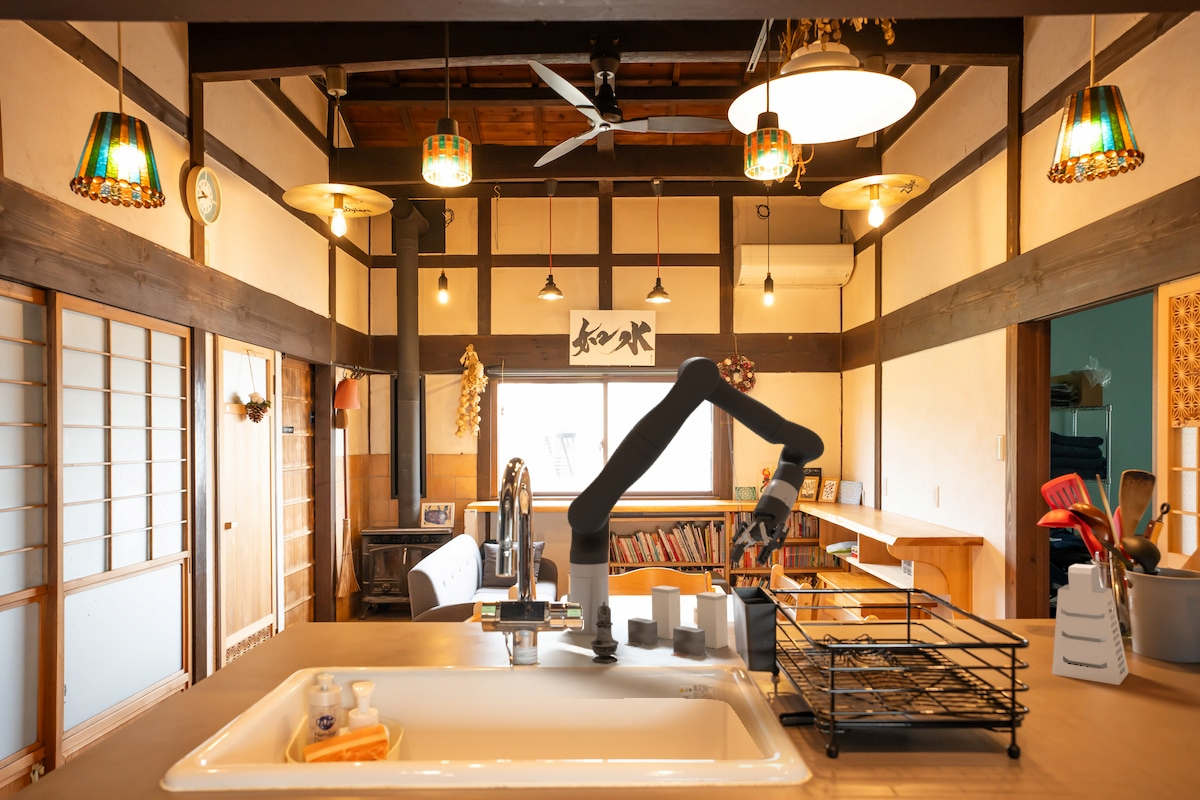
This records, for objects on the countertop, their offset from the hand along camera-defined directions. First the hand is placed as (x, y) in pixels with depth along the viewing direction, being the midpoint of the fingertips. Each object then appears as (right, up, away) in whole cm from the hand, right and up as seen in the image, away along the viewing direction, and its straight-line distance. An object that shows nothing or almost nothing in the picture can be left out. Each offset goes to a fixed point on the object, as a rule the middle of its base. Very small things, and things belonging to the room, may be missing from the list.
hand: (746, 562), depth 166 cm
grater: (+60, -16, -26) cm, 67 cm away
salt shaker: (-32, -18, -13) cm, 39 cm away
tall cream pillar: (-18, -17, +3) cm, 25 cm away
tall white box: (-9, -17, -6) cm, 20 cm away
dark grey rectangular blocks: (-15, -18, -4) cm, 24 cm away
